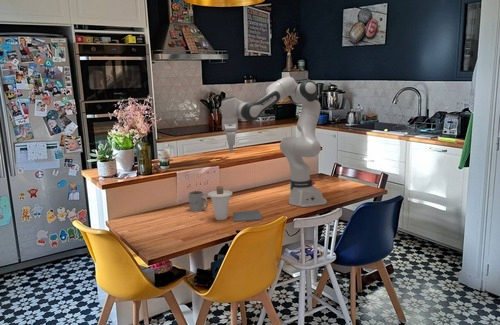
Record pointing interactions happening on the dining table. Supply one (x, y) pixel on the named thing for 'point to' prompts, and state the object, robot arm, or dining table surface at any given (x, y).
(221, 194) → the lid
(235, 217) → the mat
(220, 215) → the foam cup
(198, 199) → the mug
